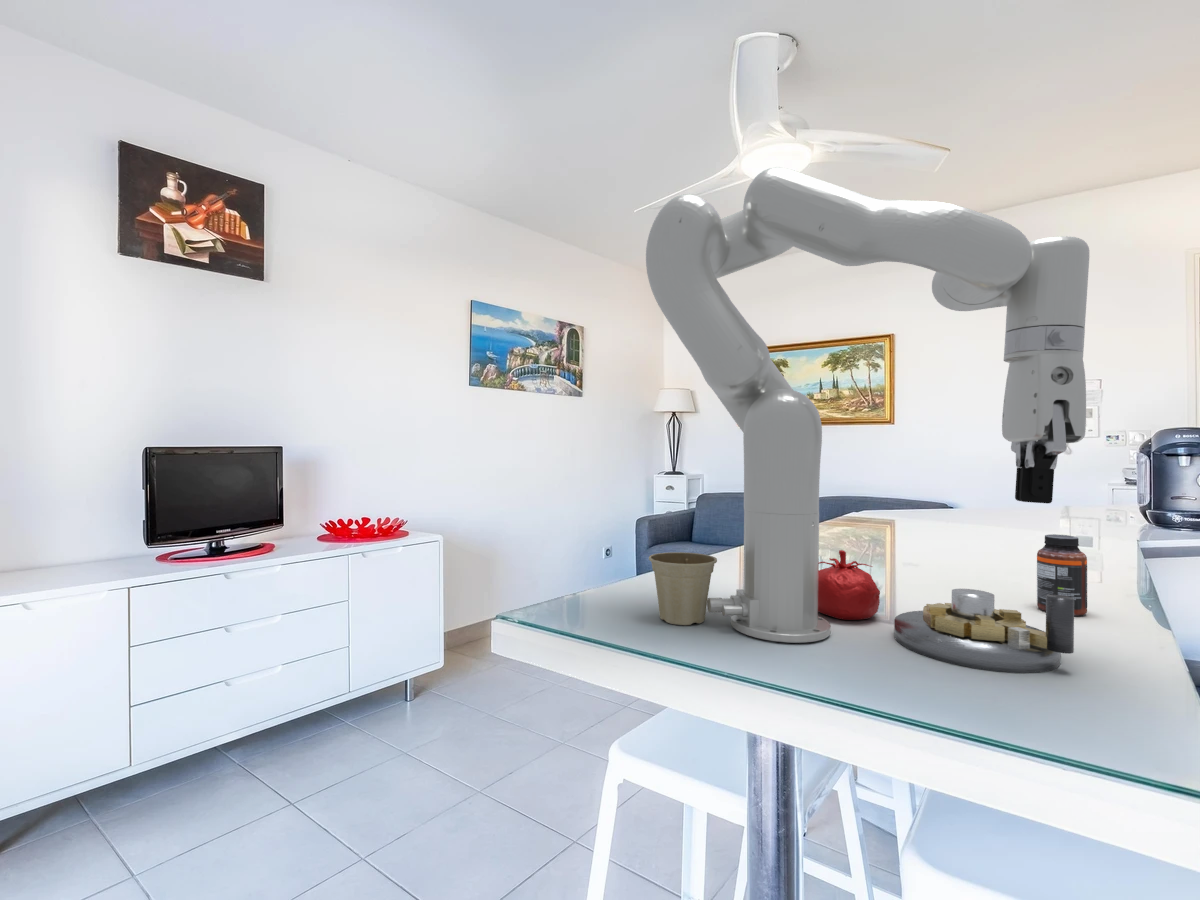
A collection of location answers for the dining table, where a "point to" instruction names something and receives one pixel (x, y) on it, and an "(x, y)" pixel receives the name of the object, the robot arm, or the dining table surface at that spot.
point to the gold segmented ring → (1010, 624)
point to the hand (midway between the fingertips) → (1033, 501)
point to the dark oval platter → (969, 651)
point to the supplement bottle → (1062, 571)
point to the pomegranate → (847, 591)
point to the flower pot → (682, 585)
